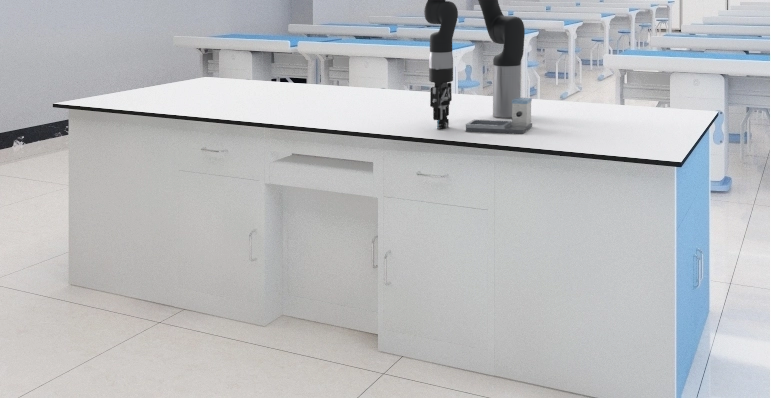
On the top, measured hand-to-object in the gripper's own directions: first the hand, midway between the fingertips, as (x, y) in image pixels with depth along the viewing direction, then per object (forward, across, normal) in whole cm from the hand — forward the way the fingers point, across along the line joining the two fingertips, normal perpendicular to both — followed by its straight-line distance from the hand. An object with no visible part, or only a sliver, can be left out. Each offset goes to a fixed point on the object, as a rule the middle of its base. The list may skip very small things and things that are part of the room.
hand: (441, 117), depth 294 cm
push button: (+4, 0, 0) cm, 4 cm away
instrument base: (+3, -3, +18) cm, 19 cm away
